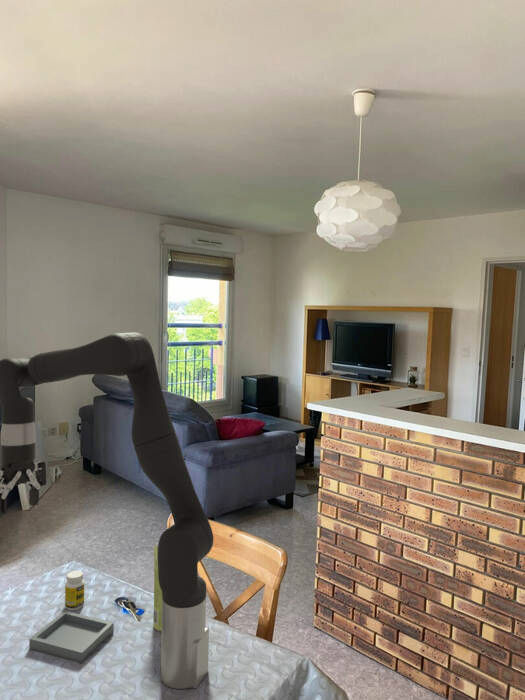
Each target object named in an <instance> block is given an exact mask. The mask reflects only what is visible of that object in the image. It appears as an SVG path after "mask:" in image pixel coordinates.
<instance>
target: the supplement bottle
mask: <svg viewBox="0 0 525 700" xmlns="http://www.w3.org/2000/svg"><path fill="white" fill-rule="evenodd" d="M84 605H85V580H84V572H83V571H81V570H73V571H70V572H68V573H67V574H66V582H65V584H64V607H65V609H66V610H69V611H75V610H79V609H82V607H83V606H84Z"/></svg>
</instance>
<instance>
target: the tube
mask: <svg viewBox="0 0 525 700" xmlns="http://www.w3.org/2000/svg"><path fill="white" fill-rule="evenodd" d="M153 565H154V566H153V571H154V572H153V578H154V579H153V624H152V625H153V628H154V629H155V630H157V631H158V632H162V591H161V588H160V585H159V580H158V545H153Z"/></svg>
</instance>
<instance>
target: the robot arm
mask: <svg viewBox="0 0 525 700" xmlns="http://www.w3.org/2000/svg"><path fill="white" fill-rule="evenodd" d="M88 375H89V376H90V375H91V376H92V375H94V376H95V375H98V376H112V377H113V376H114V377H125V376H126V378H127V379H128V382H129V385H130V388H131V391H132V395H133V413H132V414H133V415H132V421H131V440H132V444H133V447H134V452H135V454H136V457H137V461H138V463H139V466H140V469H141V470H142V472H143V473H144V474H145V476H146V477H147V478H148V480H150V481H151V483H152V484H154V487H156V488H157V489H158V490H159V491H160V492H161V493H162V495H163V496H164V498H165V500H166V501H167V504H168V506H169V507H168V508H169V509H170V513H171V516H172V519H173V520H172V521H173V523H174V524H172V525H171V526H169V527H168V528H166V529H165V530H164V531H163V532H162V533H161V535H160V537H159V539H158V545H157V546H158V580H159V585H160V588H161V591H162V631H161V640H160V641H161V643H160V647H161V649H160V678H161V681H162V683H163V684H164V685H166V686H167V687H169V688H171V689H177V690H178V689H179V690H182V689H183V690H185V689H190V688H193V689H197V688H198V687H199V685H200V683H201V682H202V680H203V679H204V678H205V676H206V674H207V673H208V671H209V651H210V650H209V649H210V645H209V643H210V642H209V641H210V629H209V627H206V626H207V625H206V622H207V621H206V620H207V619H206V618H207V615H206V614H207V583H206V581H205V579H204V578H203V577H201V576H199V575H198V574H199V573H198V570H199V569H198V568H199V565H198V563H199V562H200V561H202V560H203V559H204V558H205V557H206V556H207V555H208V554H209V553H210V552H211V550H212V548H213V545H214V533H213V528H212V527H211V524H210V522H209V520H208V517H207V515H206V512H205V510H204V509H203V505H202V504H201V502H200V499H199V496H198V495H197V492H196V489H195V487H194V483H193V481H192V479H191V478H192V477H191V476H190V472H189V469H188V467H187V464H186V461H185V459H184V455H183V450H182V448H181V444H180V442H179V439H178V436H177V433H176V429H175V427H174V424H173V421H172V419H171V415H170V412H169V409H168V405H167V402H166V400H165V396H164V393H163V390H162V385H161V381H160V377H159V372H158V368H157V363H156V359H155V354H154V351H153V348H152V345H151V343H150V342H149V339H148V338H147V337H146V336H145V335H143V334H142V333H139V332H132V331H131V332H130V331H129V332H114V333H110V334H108V335H107V336H106V335H105V336H103V337H102V338H99V339H96V340H94V341H92V342H89V343H87V344H84V345H81V346H78V347H73V348H63V349H57V350H51V351H46V352H42V353H38V354H35V355H33V356H32V357H7V358H2V359H1V360H0V405H1V430H0V462H1V465H2V466H1V469H0V515H1V516H4V515H7V513H8V509H7V508H8V506H7V505H8V503H7V501H8V500H7V496H8V494H9V492H10V491H12V490H13V488H14V487H16V486H20V485H22V484H26V485H27V486H28V487H29V488H30V489H29V490H28V492H29V493H28V497H29V499H28V500H29V501H28V502H29V505H30V506H34V507H35V506H37V505H39V504H38V503H39V502H40V489H41V487H43V486H46V485H47V481H48V480H47V468H46V467H47V465H46V464H47V463H46V461H41V460H36V428H35V427H36V426H35V403H34V400H33V399H32V398H30V397H26V396H22V393H21V391H20V388H27V387H35V386H38V385H42V384H48V383H54V382H61V381H67V380H70V379H73V378H76V377H80V376H88ZM35 460H36V461H35ZM34 461H35V462H34ZM33 472H34V473H33ZM34 474H35V475H34Z"/></svg>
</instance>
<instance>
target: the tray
mask: <svg viewBox="0 0 525 700" xmlns="http://www.w3.org/2000/svg"><path fill="white" fill-rule="evenodd" d="M114 624H115V623H114V622H113V621H108V620H104V619H101V618H95V617H93V616H88V615H84V614H81V613H75V612H72V611H67V610H64V611H63V612H61V613H60V614H59V615H57V616H56V617H55V618H54V619H52V620H51V621H50V622H49V623H48V624H45V626H43V627H42V628H41V629H39V631H37V632H36V633H35V634H34V635H32V636H31V637H30V638H29V639H28V640H29V646H28V647H29V650H30V651H33V652H38V653H42V654H45V655H48V656H52V657H56V658H60V659H63V660H67V661H71V662H74V663H77V664H83V663H84V662H85V661H86V660H88V659H89V658H90V657H91V656H92V655H93V654H94V652H95V651H96V650H98V648H100V647H101V646H102V644H104V643H105V642H106V641H107V640H108V638H110V637H111V636H112V635H113V634H114V631H115V627H114Z"/></svg>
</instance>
